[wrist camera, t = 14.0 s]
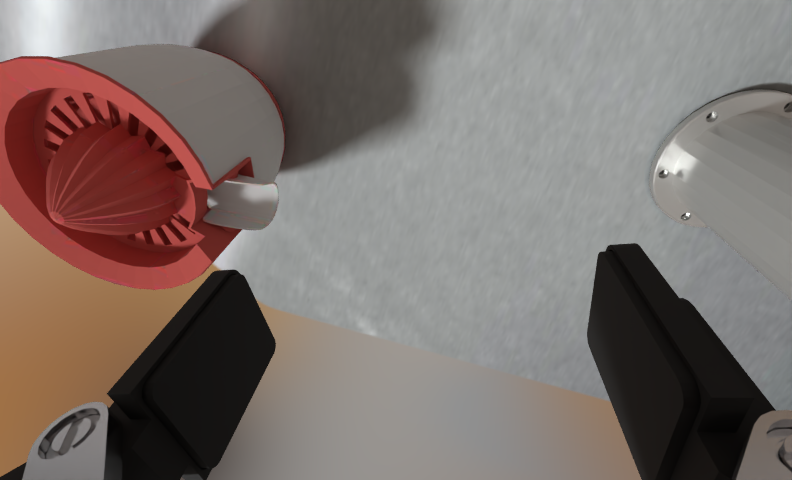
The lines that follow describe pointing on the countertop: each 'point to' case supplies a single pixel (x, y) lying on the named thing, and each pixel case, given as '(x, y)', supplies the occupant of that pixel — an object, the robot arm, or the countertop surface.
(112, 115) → the citrus juicer
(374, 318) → the countertop surface
